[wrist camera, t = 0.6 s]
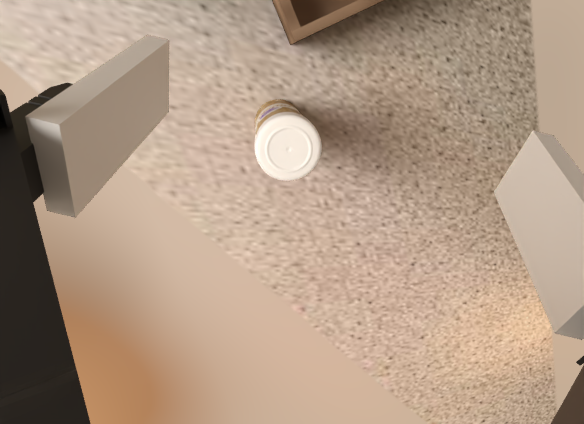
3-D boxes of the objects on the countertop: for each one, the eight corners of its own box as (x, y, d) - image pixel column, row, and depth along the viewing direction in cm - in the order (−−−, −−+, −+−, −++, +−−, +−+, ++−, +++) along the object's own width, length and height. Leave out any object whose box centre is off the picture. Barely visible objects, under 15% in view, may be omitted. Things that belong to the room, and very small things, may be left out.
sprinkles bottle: (275, 88, 39) (286, 99, 26) (310, 121, 40) (337, 146, 28) (244, 125, 40) (240, 152, 27) (279, 156, 41) (291, 195, 29)
